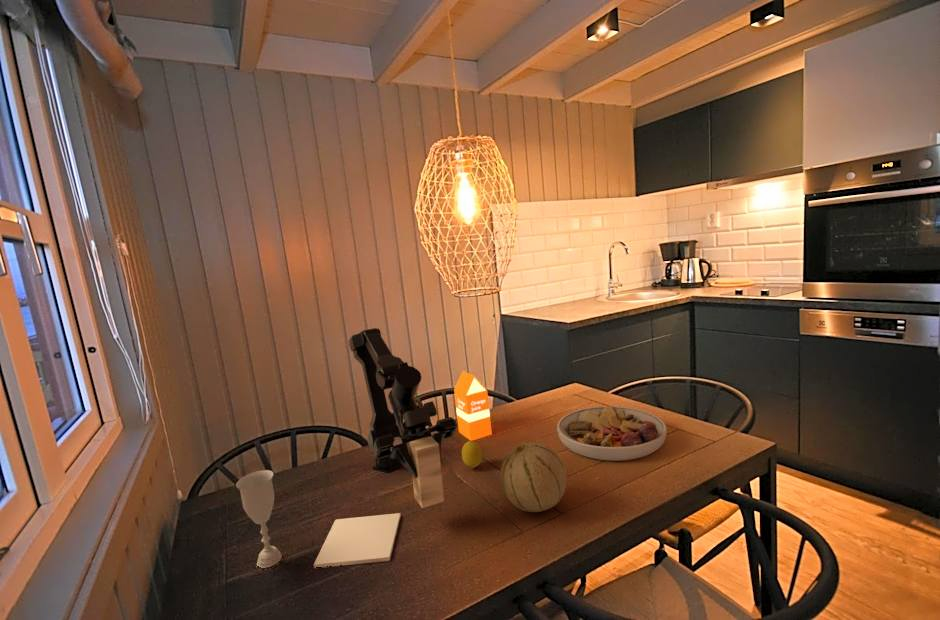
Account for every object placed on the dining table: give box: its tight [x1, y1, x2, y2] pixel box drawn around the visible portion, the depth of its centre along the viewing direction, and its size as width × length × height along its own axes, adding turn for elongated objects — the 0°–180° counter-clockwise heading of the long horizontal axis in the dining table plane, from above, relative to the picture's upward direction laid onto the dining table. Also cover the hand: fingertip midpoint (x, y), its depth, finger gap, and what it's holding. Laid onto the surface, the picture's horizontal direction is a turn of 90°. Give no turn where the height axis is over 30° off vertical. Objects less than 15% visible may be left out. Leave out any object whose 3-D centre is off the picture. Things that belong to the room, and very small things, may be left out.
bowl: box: [556, 405, 667, 462], centre depth 131 cm, size 30×30×8 cm
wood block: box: [408, 436, 445, 509], centre depth 99 cm, size 5×5×13 cm
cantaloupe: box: [500, 441, 568, 513], centre depth 102 cm, size 15×15×15 cm
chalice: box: [235, 469, 283, 568], centre depth 92 cm, size 7×7×18 cm
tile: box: [313, 512, 401, 569], centre depth 97 cm, size 15×15×1 cm
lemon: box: [461, 440, 483, 469], centre depth 123 cm, size 6×6×8 cm
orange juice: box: [453, 370, 493, 441], centre depth 145 cm, size 8×9×20 cm
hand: (428, 473), depth 97 cm, fingers closed on wood block, 5 cm apart
